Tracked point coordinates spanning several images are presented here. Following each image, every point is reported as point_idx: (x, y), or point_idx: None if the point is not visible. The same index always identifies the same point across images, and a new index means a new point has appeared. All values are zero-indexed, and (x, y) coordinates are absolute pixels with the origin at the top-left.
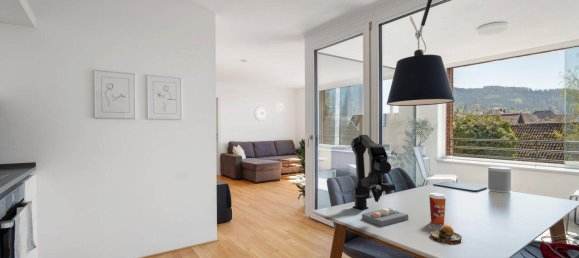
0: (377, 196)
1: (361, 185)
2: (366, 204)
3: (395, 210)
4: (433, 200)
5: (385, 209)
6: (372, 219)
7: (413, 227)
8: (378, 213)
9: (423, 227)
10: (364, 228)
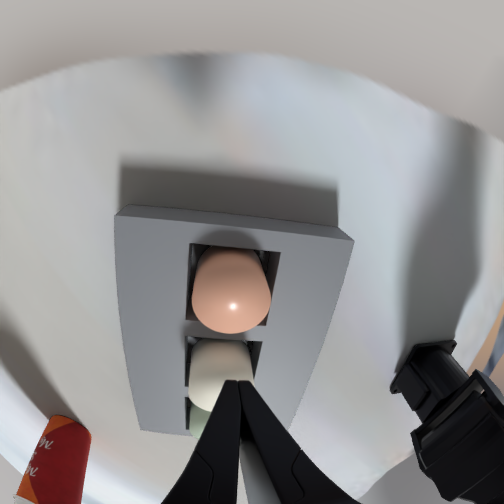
0: (197, 449)
1: (485, 458)
2: (404, 394)
3: (191, 427)
4: (32, 492)
5: (216, 394)
6: (226, 221)
7: (46, 335)
8: (215, 309)
9: (37, 362)
10: (186, 60)
